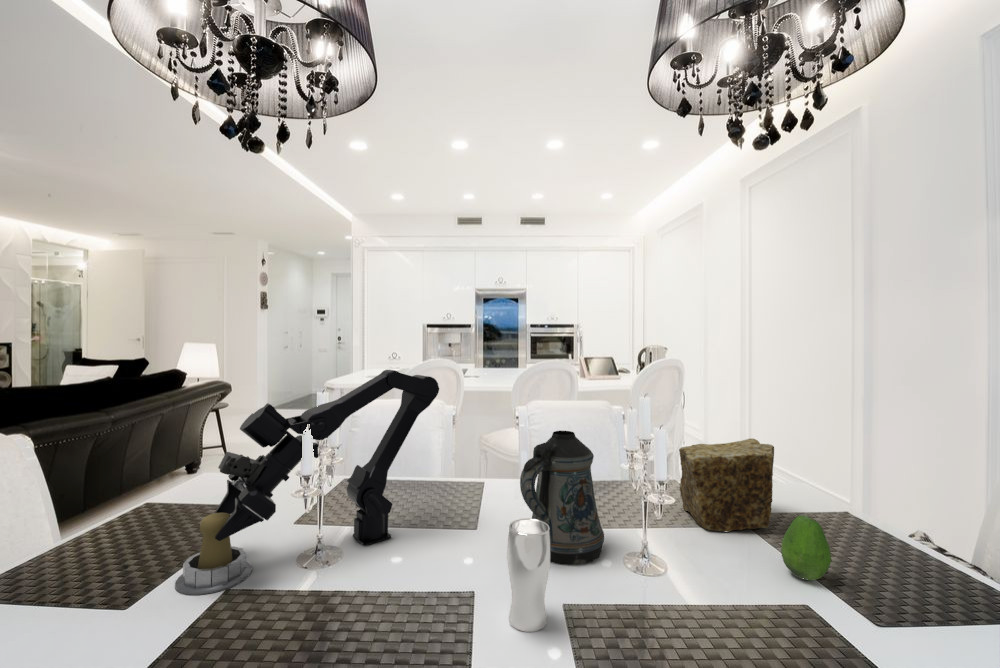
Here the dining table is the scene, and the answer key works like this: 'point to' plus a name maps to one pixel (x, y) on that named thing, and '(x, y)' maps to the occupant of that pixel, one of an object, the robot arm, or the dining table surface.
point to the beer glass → (528, 572)
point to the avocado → (806, 549)
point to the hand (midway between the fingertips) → (214, 530)
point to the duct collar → (213, 575)
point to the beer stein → (564, 498)
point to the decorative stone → (728, 484)
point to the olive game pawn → (214, 542)
